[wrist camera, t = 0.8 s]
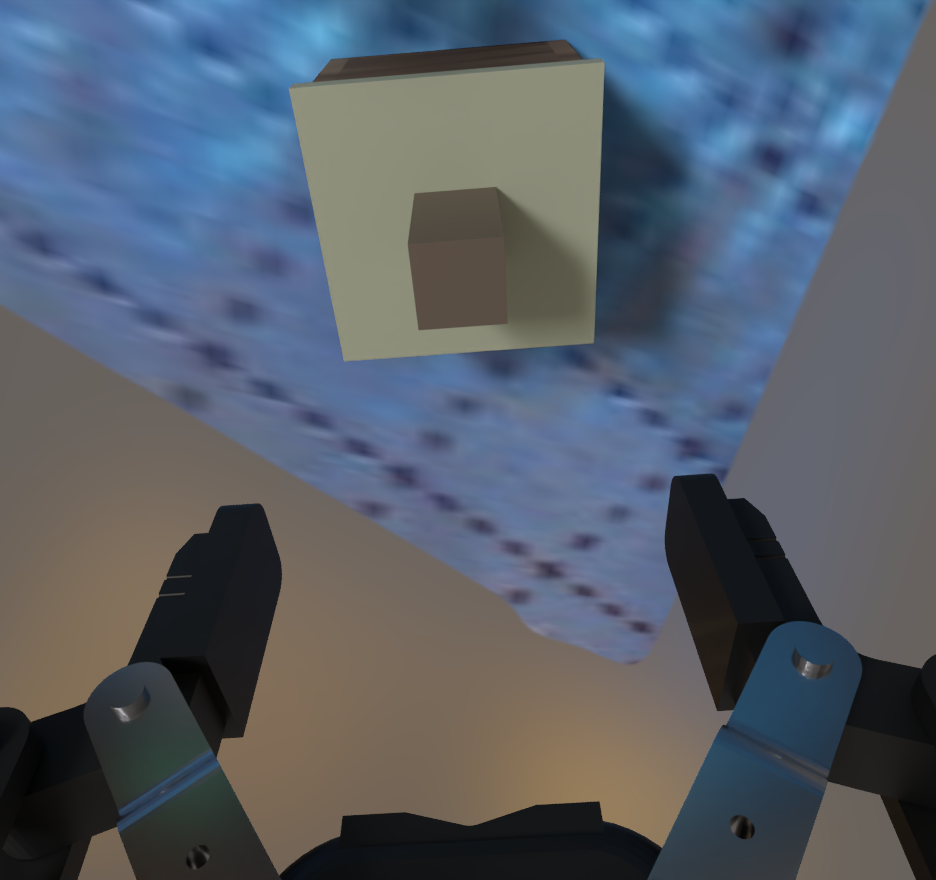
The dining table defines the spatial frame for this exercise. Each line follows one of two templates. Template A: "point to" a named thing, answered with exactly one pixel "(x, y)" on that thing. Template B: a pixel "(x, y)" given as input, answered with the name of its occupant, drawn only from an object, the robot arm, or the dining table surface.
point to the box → (448, 60)
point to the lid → (457, 206)
